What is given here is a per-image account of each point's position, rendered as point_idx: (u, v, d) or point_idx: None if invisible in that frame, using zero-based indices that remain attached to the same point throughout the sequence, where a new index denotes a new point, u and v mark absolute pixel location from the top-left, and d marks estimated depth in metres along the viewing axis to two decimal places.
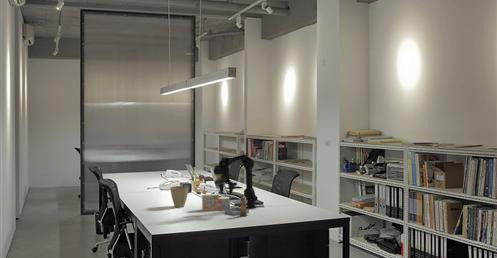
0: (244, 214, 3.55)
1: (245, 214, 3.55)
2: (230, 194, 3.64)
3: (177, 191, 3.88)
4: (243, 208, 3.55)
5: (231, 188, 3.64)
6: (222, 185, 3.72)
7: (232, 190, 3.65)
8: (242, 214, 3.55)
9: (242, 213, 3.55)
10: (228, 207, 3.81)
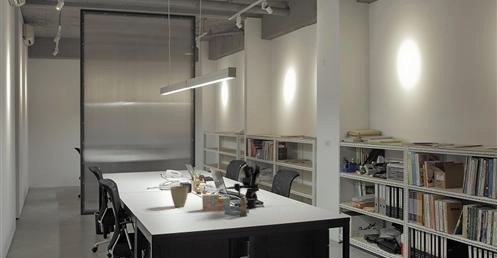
0: (244, 214, 3.55)
1: (245, 214, 3.55)
2: (251, 196, 3.63)
3: (177, 191, 3.88)
4: (243, 208, 3.55)
5: (253, 191, 3.66)
6: (239, 190, 3.70)
7: (253, 194, 3.66)
8: (242, 214, 3.55)
9: (242, 213, 3.55)
10: (228, 207, 3.81)
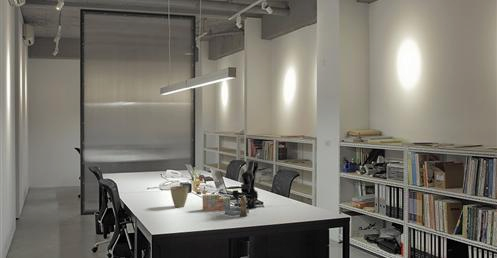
0: (244, 214, 3.55)
1: (245, 214, 3.55)
2: (250, 203, 3.58)
3: (177, 191, 3.88)
4: (243, 208, 3.55)
5: (252, 198, 3.61)
6: (238, 197, 3.64)
7: (252, 201, 3.60)
8: (242, 214, 3.55)
9: (242, 213, 3.55)
10: (228, 207, 3.81)
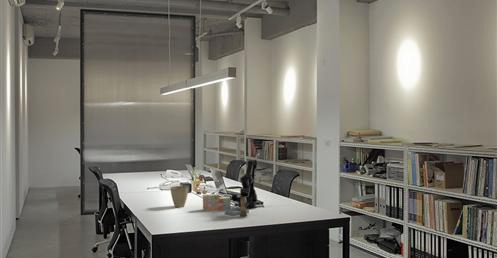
0: (244, 214, 3.55)
1: (245, 214, 3.55)
2: (246, 207, 3.55)
3: (177, 191, 3.88)
4: (243, 208, 3.55)
5: (248, 202, 3.58)
6: (240, 201, 3.61)
7: (248, 205, 3.58)
8: (242, 214, 3.55)
9: (242, 213, 3.55)
10: (229, 207, 3.81)
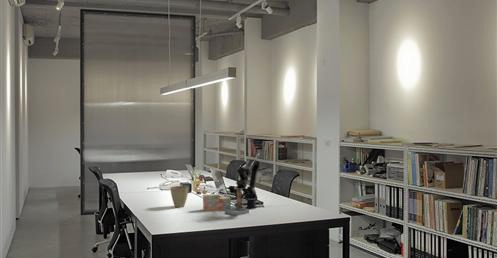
0: (240, 206, 3.58)
1: (241, 206, 3.58)
2: None
3: (177, 191, 3.88)
4: (239, 200, 3.58)
5: (244, 194, 3.61)
6: None
7: (244, 196, 3.61)
8: (238, 206, 3.58)
9: (238, 205, 3.58)
10: (229, 207, 3.82)
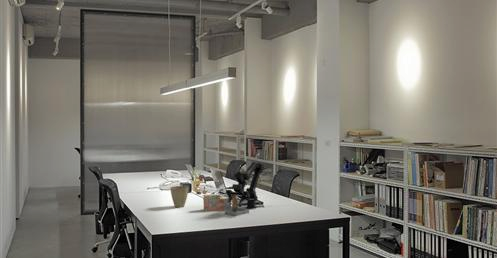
0: (235, 211, 3.62)
1: (236, 211, 3.62)
2: (239, 203, 3.61)
3: (177, 191, 3.88)
4: (234, 205, 3.63)
5: (242, 198, 3.63)
6: (231, 196, 3.70)
7: (242, 201, 3.63)
8: (233, 211, 3.63)
9: (233, 210, 3.63)
10: (229, 207, 3.82)
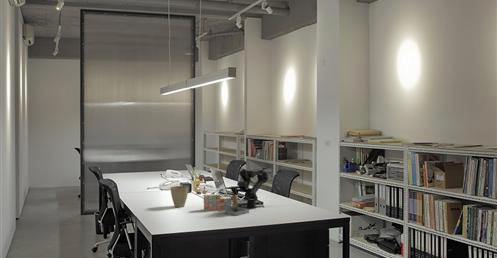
0: (235, 211, 3.62)
1: (236, 211, 3.62)
2: (244, 200, 3.68)
3: (177, 191, 3.88)
4: (234, 205, 3.63)
5: (247, 195, 3.70)
6: (236, 194, 3.77)
7: (247, 198, 3.70)
8: (233, 211, 3.63)
9: (233, 210, 3.63)
10: (230, 207, 3.82)
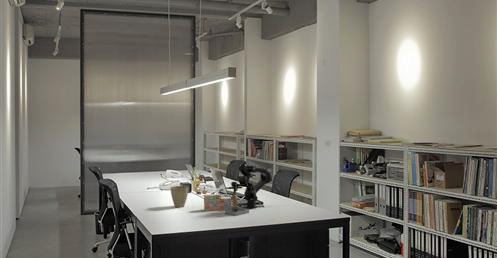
0: (235, 211, 3.62)
1: (236, 211, 3.62)
2: (244, 194, 3.70)
3: (177, 191, 3.88)
4: (234, 205, 3.63)
5: (247, 190, 3.72)
6: (236, 188, 3.78)
7: (247, 192, 3.72)
8: (233, 211, 3.63)
9: (233, 210, 3.63)
10: (230, 207, 3.82)
